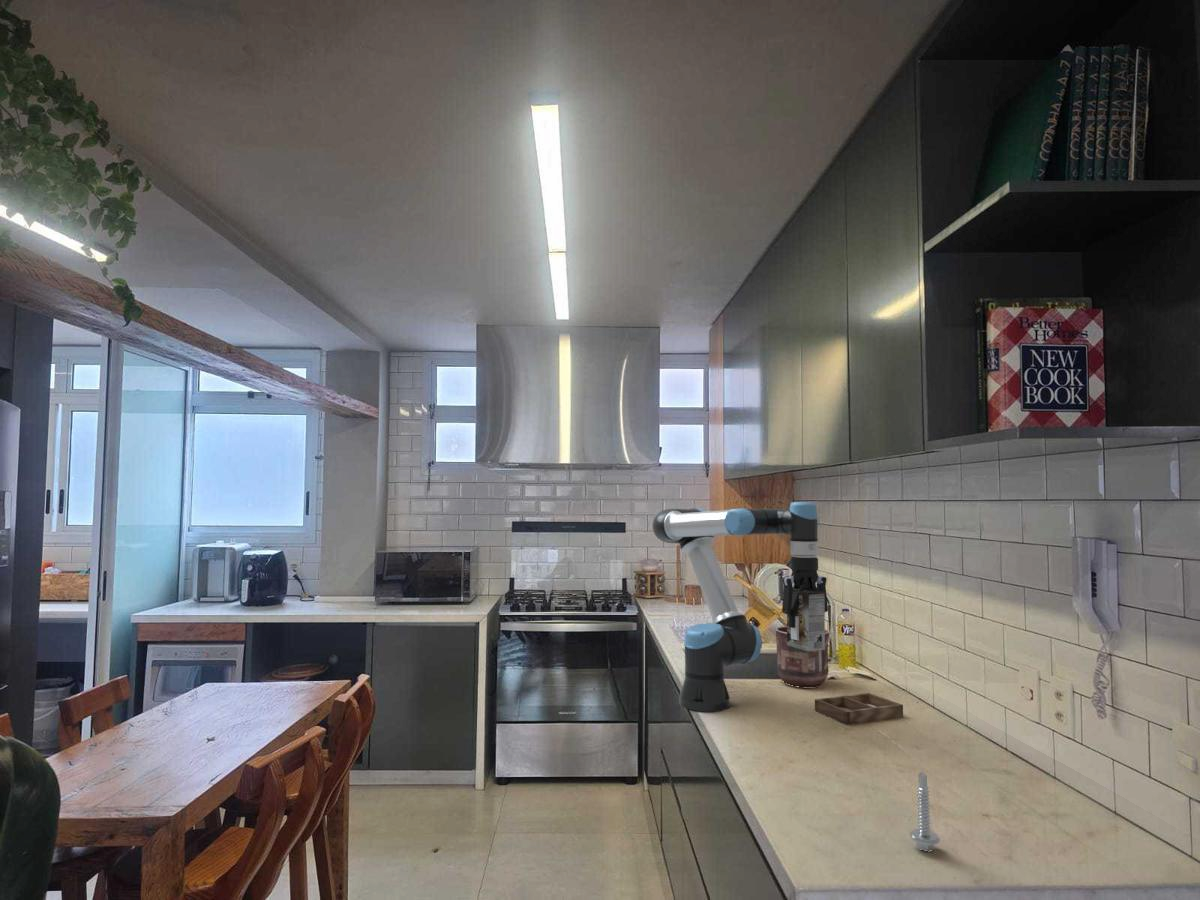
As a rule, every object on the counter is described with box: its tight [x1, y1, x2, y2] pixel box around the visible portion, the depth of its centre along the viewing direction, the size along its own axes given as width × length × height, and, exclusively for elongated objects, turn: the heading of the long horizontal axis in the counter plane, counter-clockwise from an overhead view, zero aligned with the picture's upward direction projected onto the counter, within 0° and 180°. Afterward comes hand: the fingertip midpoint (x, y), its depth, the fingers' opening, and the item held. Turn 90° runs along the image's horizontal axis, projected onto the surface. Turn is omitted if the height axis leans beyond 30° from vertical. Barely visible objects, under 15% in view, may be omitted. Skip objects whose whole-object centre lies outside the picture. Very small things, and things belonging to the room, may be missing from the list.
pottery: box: [775, 625, 830, 688], centre depth 232 cm, size 18×18×18 cm
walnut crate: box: [814, 692, 904, 726], centre depth 198 cm, size 20×14×4 cm
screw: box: [909, 771, 941, 851], centre depth 120 cm, size 13×5×5 cm
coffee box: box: [786, 589, 826, 651], centre depth 193 cm, size 9×6×16 cm
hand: (805, 638), depth 193 cm, fingers closed on coffee box, 7 cm apart
